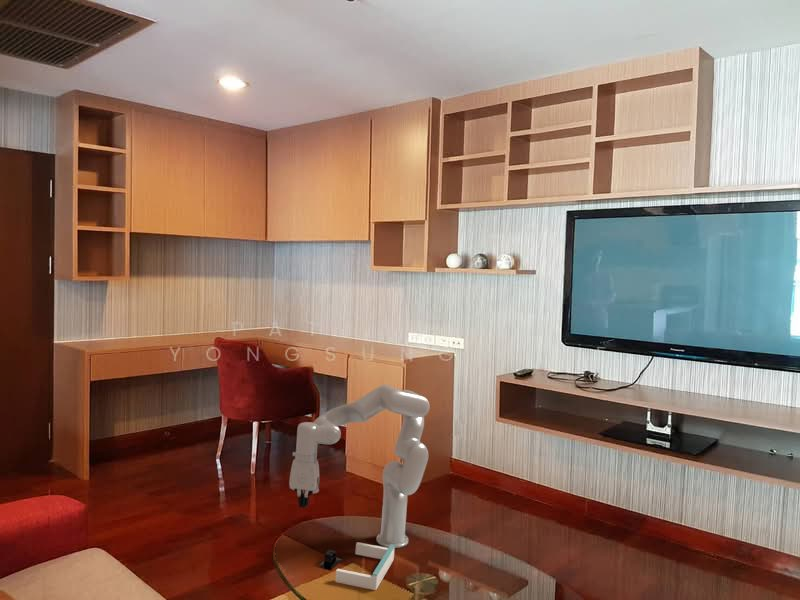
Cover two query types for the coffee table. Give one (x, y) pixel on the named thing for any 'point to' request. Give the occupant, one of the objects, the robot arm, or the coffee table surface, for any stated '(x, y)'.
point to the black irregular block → (330, 560)
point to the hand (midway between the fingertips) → (303, 506)
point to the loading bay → (378, 574)
